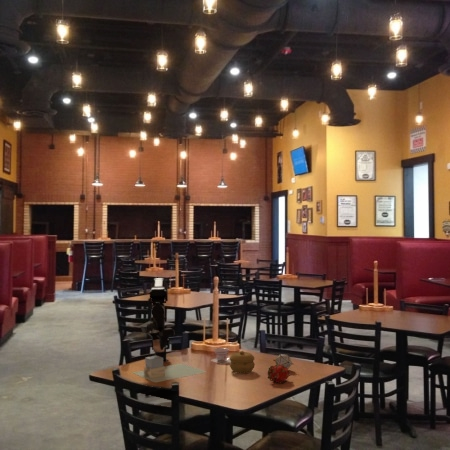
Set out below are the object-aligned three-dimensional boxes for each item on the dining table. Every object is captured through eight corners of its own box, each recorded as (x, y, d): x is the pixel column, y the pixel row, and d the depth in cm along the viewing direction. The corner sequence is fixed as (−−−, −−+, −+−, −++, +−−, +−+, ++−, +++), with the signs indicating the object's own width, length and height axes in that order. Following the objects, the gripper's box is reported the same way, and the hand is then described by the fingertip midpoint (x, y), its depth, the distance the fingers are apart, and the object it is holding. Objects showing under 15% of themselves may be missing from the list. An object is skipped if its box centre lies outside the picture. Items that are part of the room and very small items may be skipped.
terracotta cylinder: (151, 350, 243) (151, 340, 243) (160, 349, 246) (160, 338, 246) (157, 352, 239) (156, 341, 239) (166, 351, 242) (166, 340, 242)
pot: (250, 368, 252) (250, 347, 252) (258, 374, 241) (257, 352, 241) (227, 370, 249) (226, 349, 250) (233, 376, 238) (233, 354, 238)
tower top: (145, 366, 241) (145, 357, 242) (156, 364, 245) (156, 355, 245) (151, 368, 237) (151, 359, 237) (163, 366, 240) (163, 357, 240)
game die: (283, 379, 245) (277, 365, 240) (274, 369, 252) (268, 355, 247) (298, 368, 247) (293, 354, 242) (289, 359, 255) (283, 344, 250)
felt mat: (131, 373, 246) (131, 372, 246) (182, 364, 263) (182, 363, 263) (154, 383, 228) (154, 382, 228) (207, 372, 245) (207, 371, 245)
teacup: (219, 358, 276) (219, 346, 276) (238, 360, 269) (237, 348, 269) (205, 362, 266) (205, 350, 266) (224, 365, 259) (224, 353, 259)
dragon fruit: (265, 388, 224) (286, 387, 231) (277, 379, 219) (298, 379, 226) (260, 369, 229) (280, 369, 236) (271, 360, 224) (292, 360, 231)
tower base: (144, 374, 241) (143, 366, 242) (157, 372, 246) (157, 363, 246) (151, 378, 236) (151, 369, 236) (164, 375, 240) (164, 366, 240)
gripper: (133, 314, 245) (133, 348, 245) (153, 318, 230) (154, 354, 230) (153, 312, 252) (154, 345, 251) (174, 316, 237) (175, 351, 237)
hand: (158, 348), depth 242 cm, fingers closed on terracotta cylinder, 5 cm apart
